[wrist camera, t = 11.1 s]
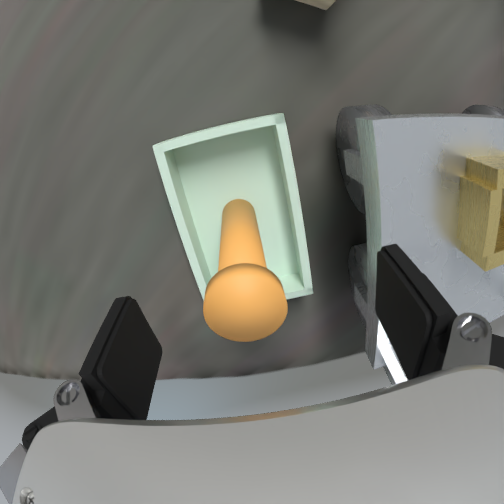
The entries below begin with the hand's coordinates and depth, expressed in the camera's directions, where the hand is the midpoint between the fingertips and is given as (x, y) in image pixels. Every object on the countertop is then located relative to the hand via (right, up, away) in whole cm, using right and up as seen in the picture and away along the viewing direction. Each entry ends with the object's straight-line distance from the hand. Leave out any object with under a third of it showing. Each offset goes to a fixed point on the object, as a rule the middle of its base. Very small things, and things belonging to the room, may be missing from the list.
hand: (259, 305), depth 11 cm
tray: (-1, +5, +11) cm, 12 cm away
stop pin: (-1, +5, +11) cm, 12 cm away
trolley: (+14, +6, +11) cm, 19 cm away
